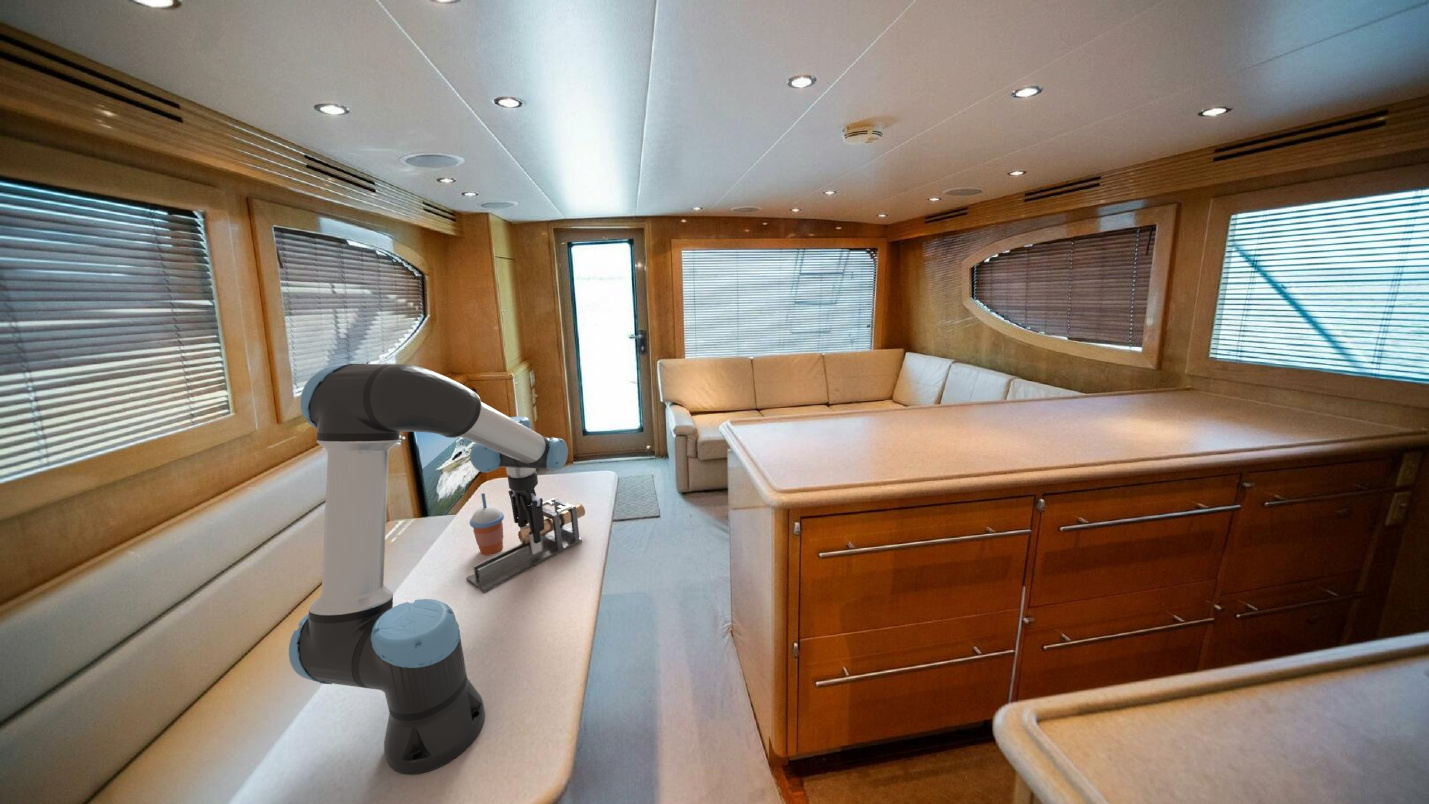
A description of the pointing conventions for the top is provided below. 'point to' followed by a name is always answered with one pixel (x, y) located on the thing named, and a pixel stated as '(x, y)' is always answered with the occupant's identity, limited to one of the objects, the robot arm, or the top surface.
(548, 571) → the top surface
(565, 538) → the collar rail
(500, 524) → the cup with straw
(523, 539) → the tan wooden rod
